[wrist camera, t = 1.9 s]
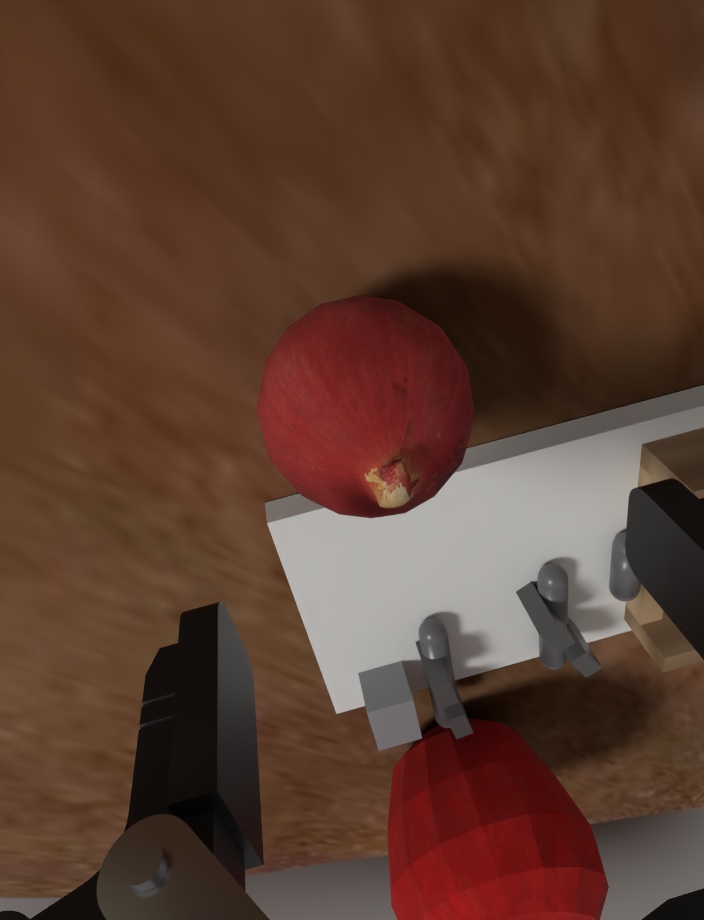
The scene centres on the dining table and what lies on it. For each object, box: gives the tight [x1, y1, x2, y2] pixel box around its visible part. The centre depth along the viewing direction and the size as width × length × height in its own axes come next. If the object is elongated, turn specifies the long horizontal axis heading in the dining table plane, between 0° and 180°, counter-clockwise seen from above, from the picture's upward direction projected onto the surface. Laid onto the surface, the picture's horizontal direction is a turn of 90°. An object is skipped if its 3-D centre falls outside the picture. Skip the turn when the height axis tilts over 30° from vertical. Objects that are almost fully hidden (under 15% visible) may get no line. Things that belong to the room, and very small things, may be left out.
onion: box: [257, 295, 474, 518], centre depth 16 cm, size 6×6×8 cm
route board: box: [265, 385, 704, 751], centre depth 26 cm, size 14×24×4 cm, turn 101°
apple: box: [388, 718, 609, 920], centre depth 29 cm, size 10×10×11 cm
